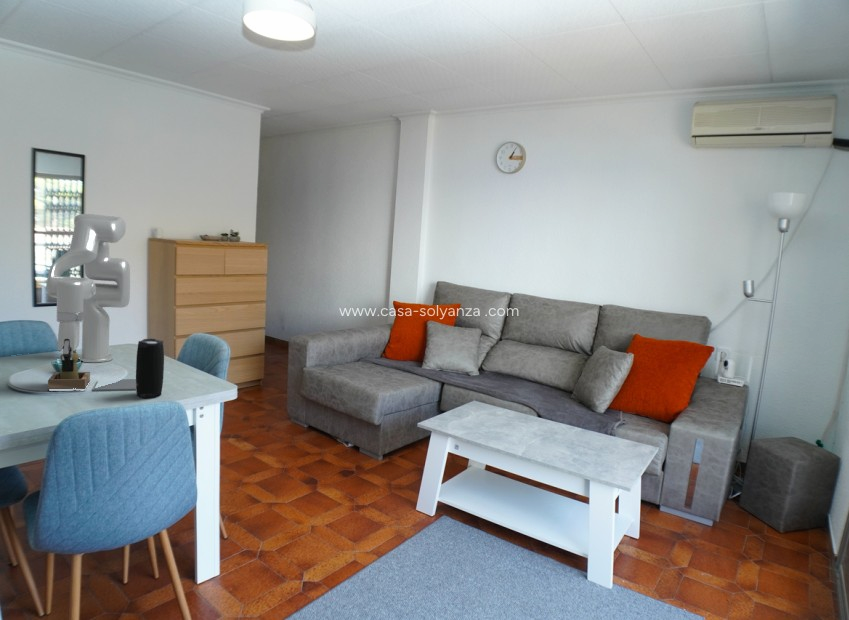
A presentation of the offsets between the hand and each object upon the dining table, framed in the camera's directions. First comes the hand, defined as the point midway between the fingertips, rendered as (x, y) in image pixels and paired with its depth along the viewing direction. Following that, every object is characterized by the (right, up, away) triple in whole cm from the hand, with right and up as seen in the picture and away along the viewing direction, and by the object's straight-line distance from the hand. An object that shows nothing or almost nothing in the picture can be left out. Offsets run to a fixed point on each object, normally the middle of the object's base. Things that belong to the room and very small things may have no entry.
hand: (69, 368), depth 184 cm
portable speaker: (+27, -9, 0) cm, 29 cm away
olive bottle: (-1, -6, +1) cm, 6 cm away
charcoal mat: (+12, -7, +7) cm, 16 cm away
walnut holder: (0, -6, +1) cm, 6 cm away
